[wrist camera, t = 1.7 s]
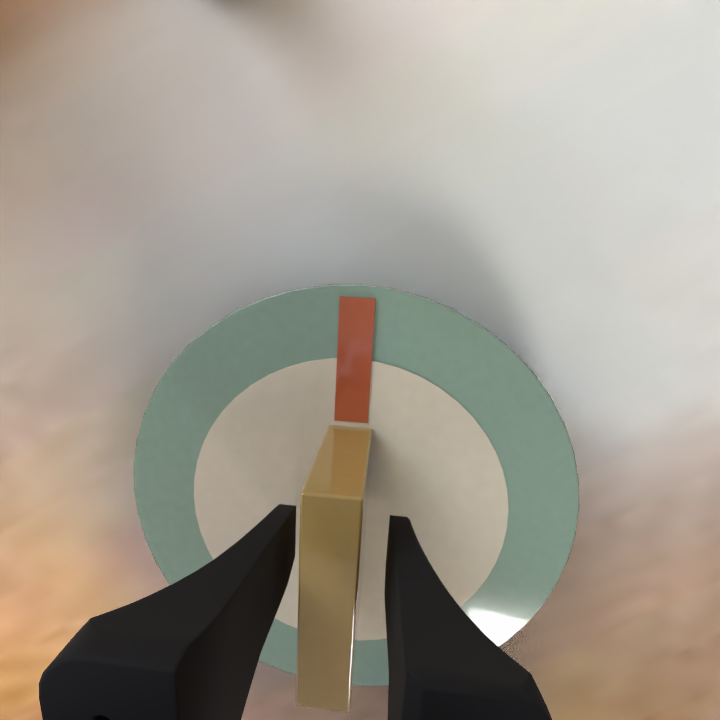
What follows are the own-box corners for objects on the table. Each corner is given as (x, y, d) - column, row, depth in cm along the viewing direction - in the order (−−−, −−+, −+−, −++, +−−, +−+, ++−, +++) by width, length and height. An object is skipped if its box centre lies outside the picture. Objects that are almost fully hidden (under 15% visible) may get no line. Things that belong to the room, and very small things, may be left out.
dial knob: (532, 691, 17) (592, 874, 12) (158, 643, 18) (65, 790, 13) (611, 299, 13) (752, 318, 8) (129, 270, 14) (-20, 269, 9)
